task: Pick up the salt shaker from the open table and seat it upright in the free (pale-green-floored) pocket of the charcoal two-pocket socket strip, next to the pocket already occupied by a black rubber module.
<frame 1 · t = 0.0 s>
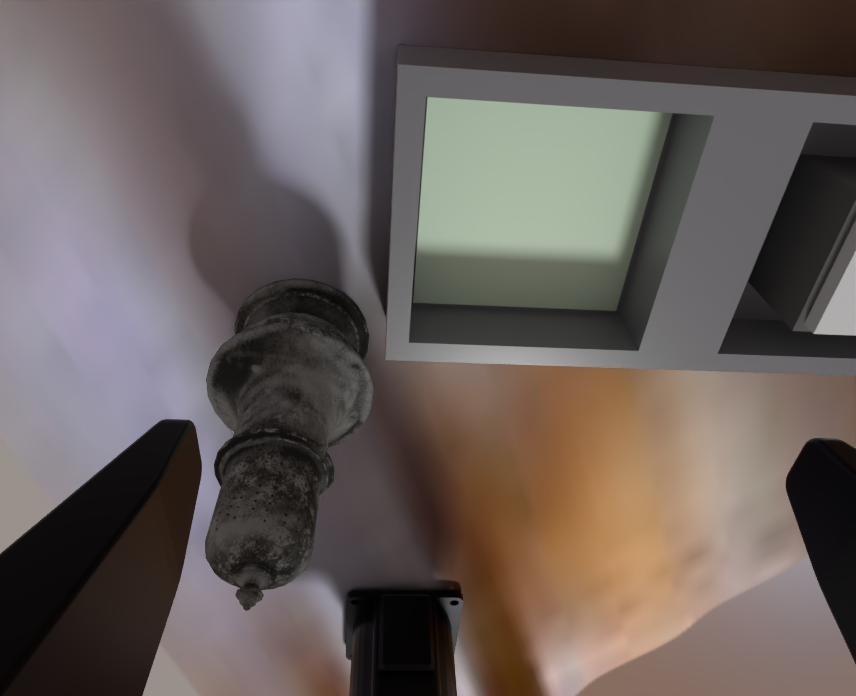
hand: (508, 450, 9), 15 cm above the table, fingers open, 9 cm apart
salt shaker: (303, 333, 26), on the table
socket strip: (686, 215, 23), on the table
plugged module: (837, 225, 24), resting on socket strip
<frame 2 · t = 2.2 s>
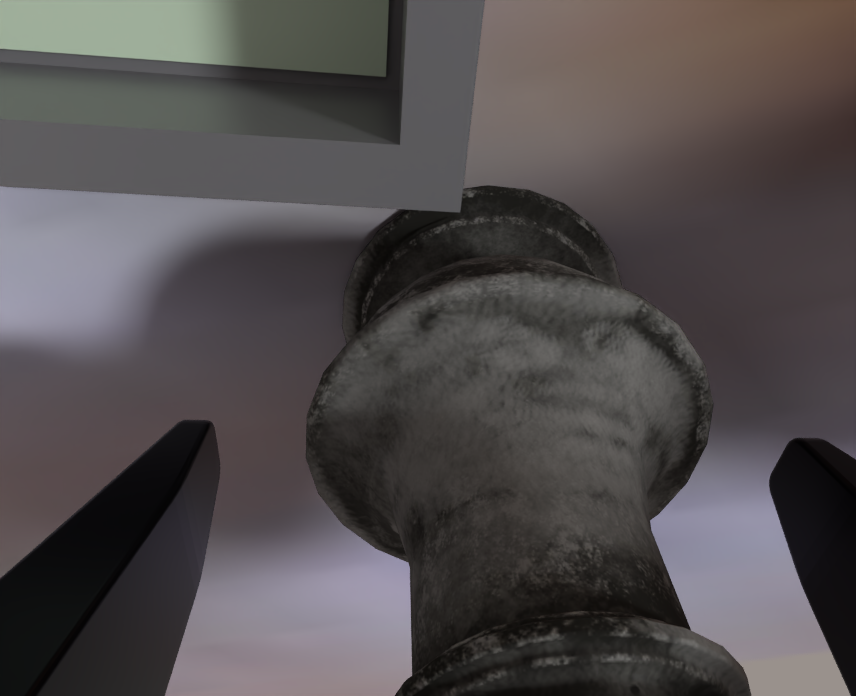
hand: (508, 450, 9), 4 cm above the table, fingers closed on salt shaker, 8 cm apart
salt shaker: (480, 313, 12), on the table, touching gripper
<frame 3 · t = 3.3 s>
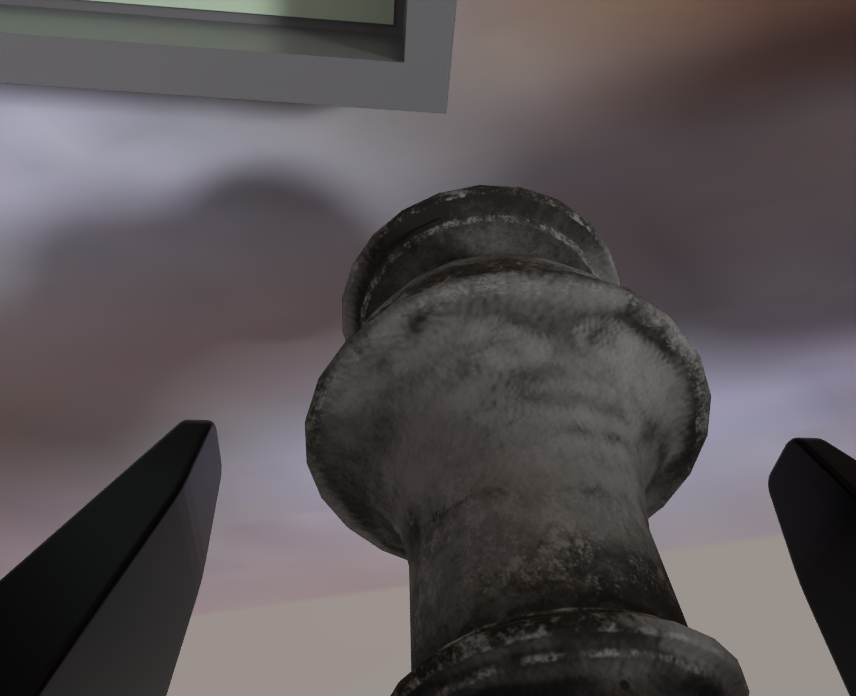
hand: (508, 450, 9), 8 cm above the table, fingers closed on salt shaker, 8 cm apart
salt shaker: (479, 312, 12), point 4 cm above the table, touching gripper
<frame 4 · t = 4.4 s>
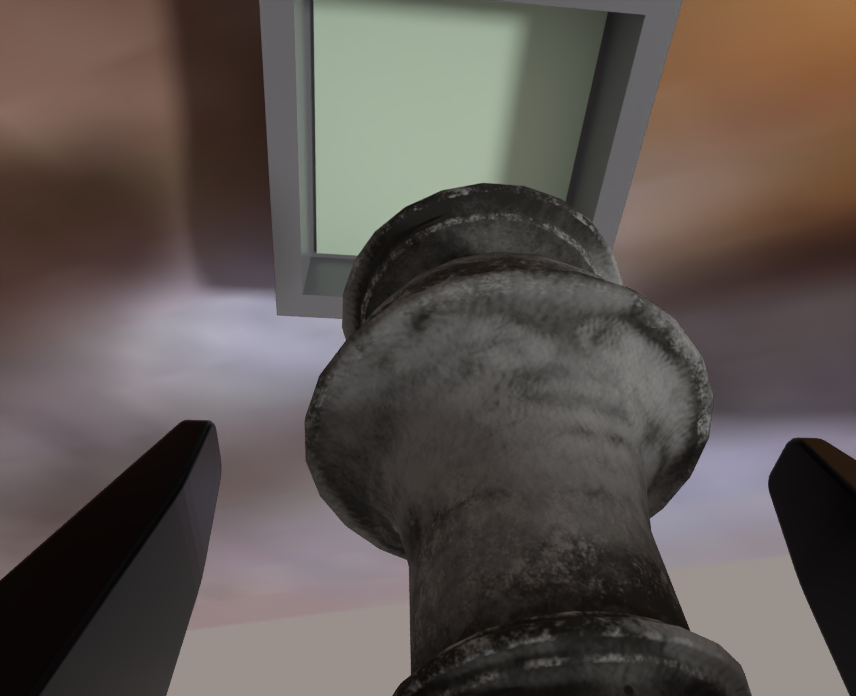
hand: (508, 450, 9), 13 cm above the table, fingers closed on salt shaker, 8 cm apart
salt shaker: (480, 310, 12), point 9 cm above the table, touching gripper
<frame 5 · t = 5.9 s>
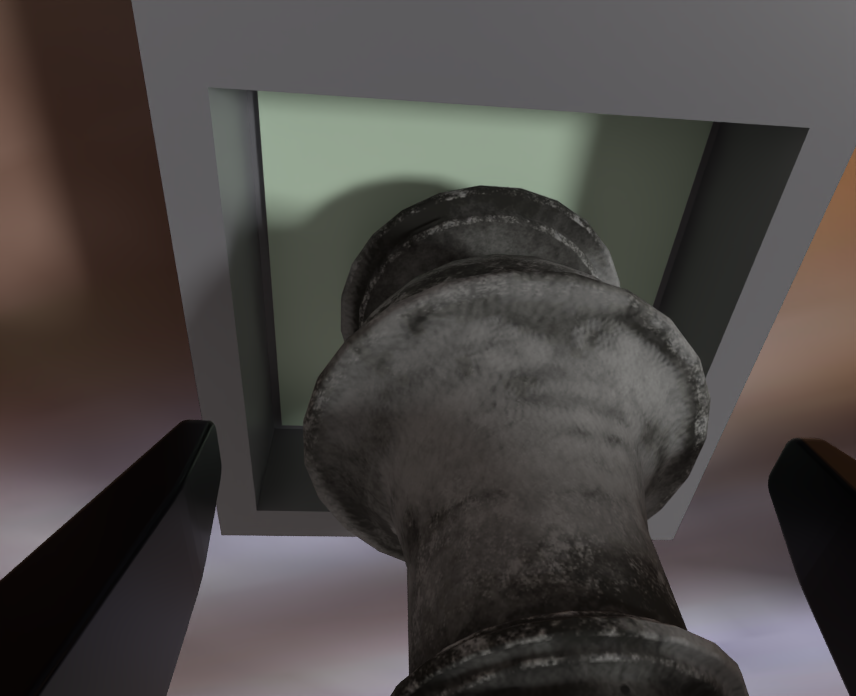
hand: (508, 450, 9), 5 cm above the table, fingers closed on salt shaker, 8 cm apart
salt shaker: (478, 312, 12), point 1 cm above the table, touching gripper
when the fingers open (5 cm above the table, at t = 6.9 s): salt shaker drops 1 cm, resting on socket strip.
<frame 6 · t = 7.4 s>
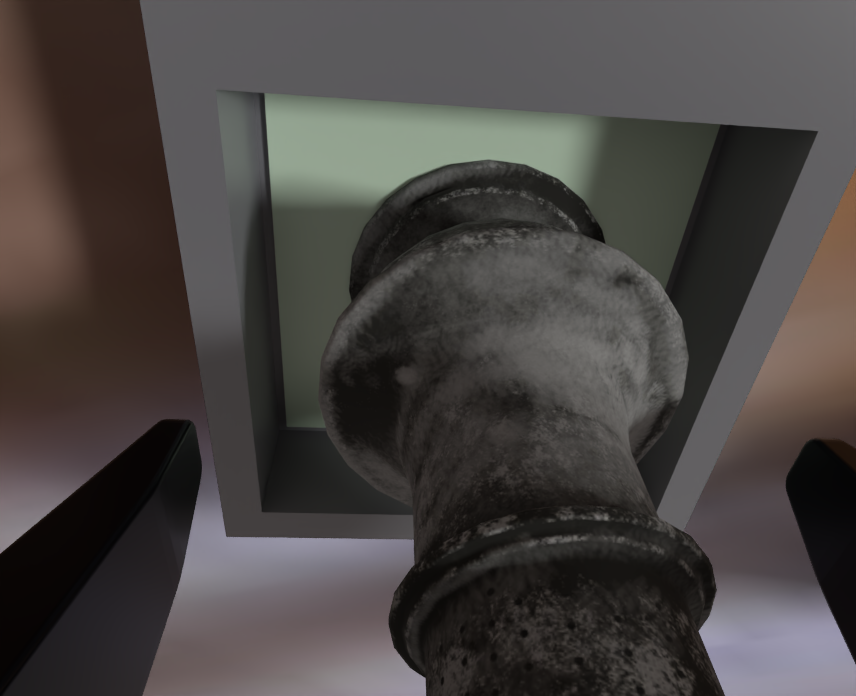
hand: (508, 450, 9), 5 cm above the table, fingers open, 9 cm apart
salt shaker: (477, 281, 13), resting on socket strip
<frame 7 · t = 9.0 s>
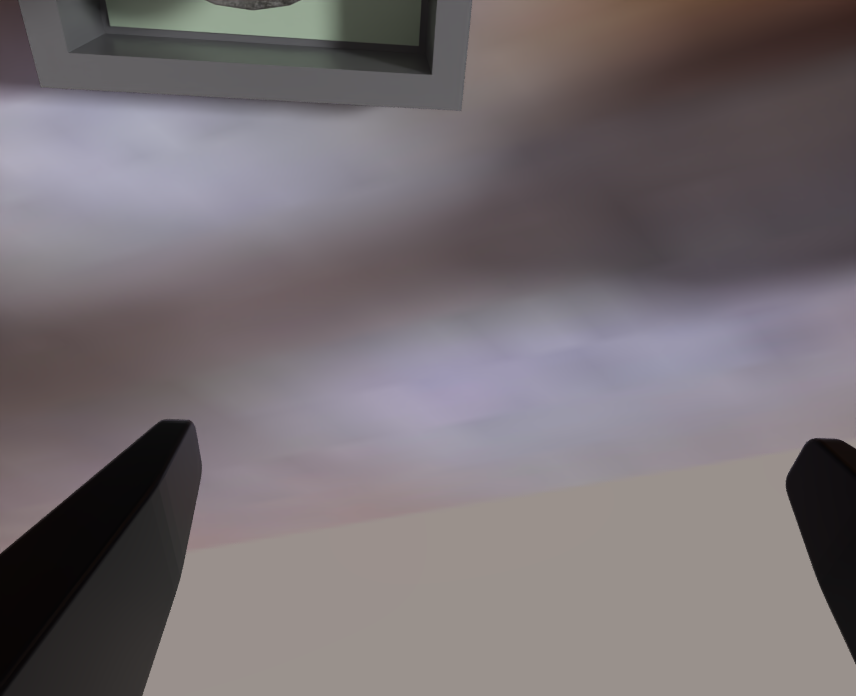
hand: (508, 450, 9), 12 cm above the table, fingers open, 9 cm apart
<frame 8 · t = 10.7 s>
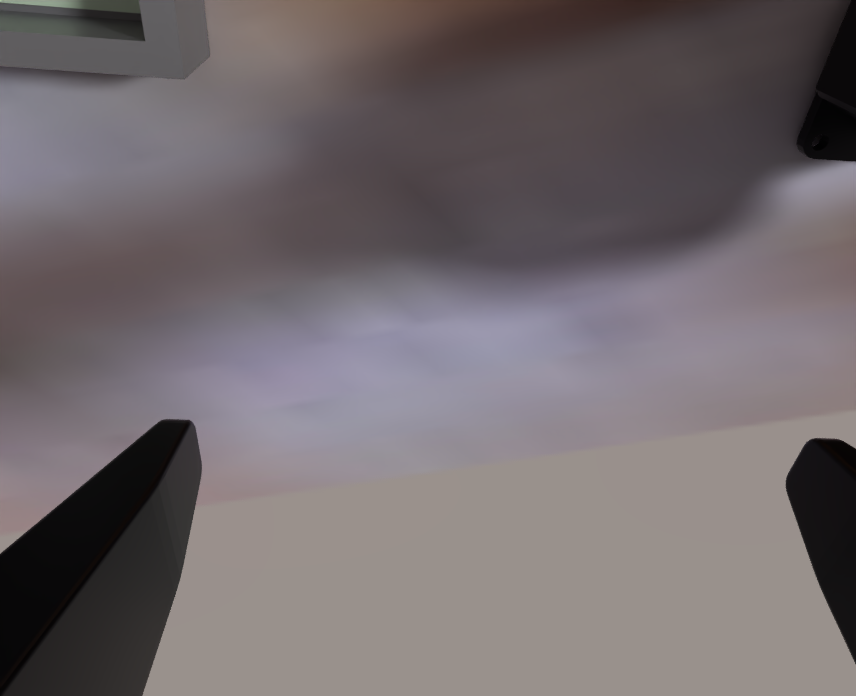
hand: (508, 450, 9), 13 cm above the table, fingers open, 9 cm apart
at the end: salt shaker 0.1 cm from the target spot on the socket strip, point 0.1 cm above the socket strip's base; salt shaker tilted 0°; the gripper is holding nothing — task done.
